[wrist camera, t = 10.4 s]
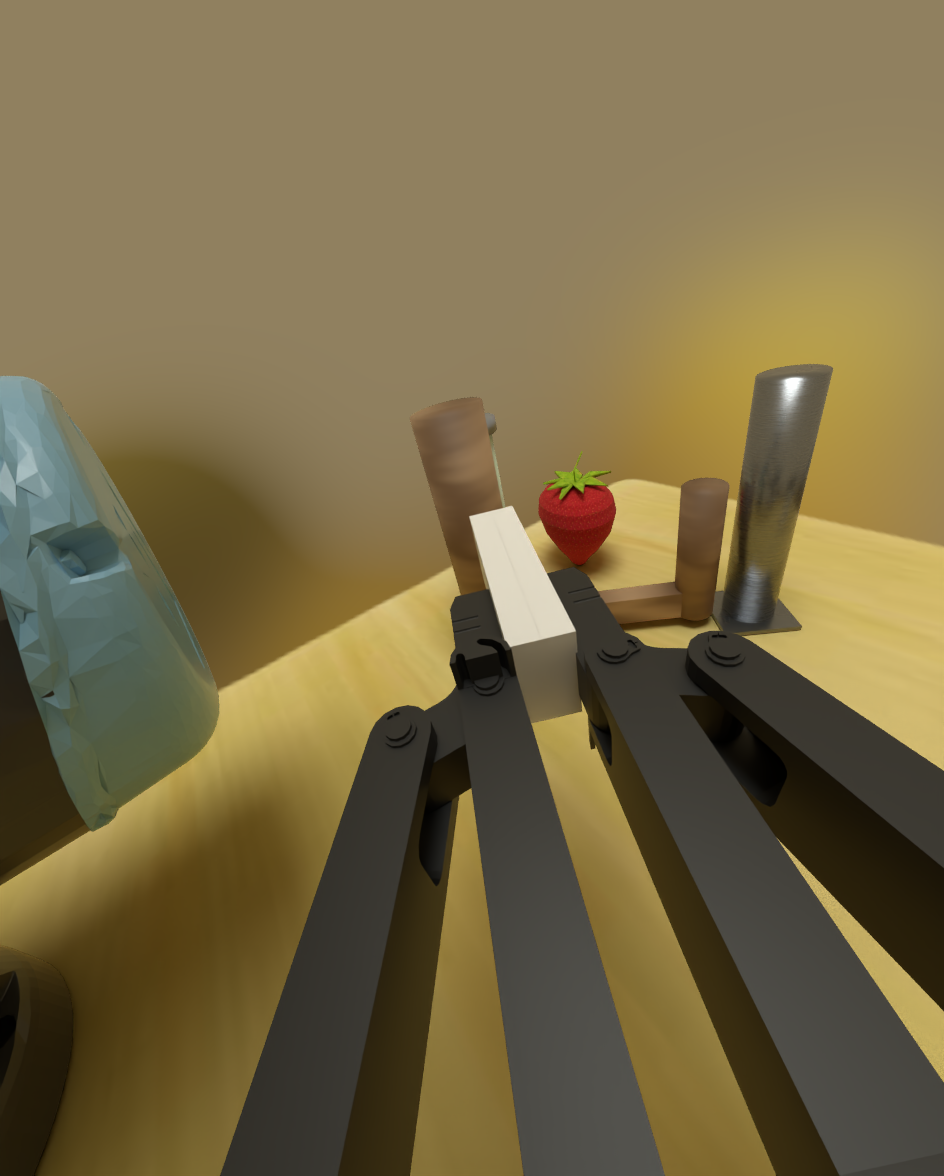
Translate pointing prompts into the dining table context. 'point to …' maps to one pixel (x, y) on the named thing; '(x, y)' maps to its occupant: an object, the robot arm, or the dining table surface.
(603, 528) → the strawberry
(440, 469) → the brown uneven u-shaped piece
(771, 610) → the hinge post
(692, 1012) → the dining table surface
